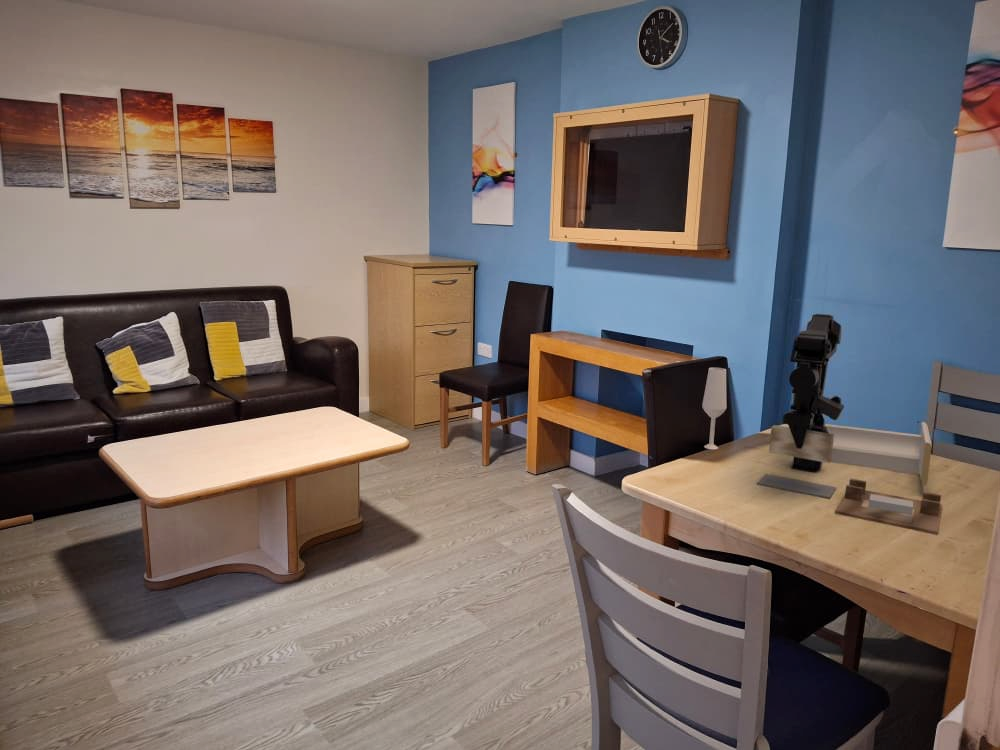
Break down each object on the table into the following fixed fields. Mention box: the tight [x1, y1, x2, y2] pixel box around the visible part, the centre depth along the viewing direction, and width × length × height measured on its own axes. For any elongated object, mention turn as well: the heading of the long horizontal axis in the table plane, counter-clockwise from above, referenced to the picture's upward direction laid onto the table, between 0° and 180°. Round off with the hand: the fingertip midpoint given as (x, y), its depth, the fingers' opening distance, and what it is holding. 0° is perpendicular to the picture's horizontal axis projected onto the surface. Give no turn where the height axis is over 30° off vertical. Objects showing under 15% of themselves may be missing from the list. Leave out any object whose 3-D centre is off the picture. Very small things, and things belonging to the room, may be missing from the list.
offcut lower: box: [860, 500, 914, 524], centre depth 160 cm, size 10×5×2 cm, turn 56°
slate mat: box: [756, 473, 837, 500], centre depth 180 cm, size 17×9×1 cm, turn 56°
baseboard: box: [917, 421, 933, 487], centre depth 188 cm, size 31×3×12 cm, turn 151°
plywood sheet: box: [768, 424, 834, 464], centre depth 178 cm, size 14×3×6 cm, turn 56°
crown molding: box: [825, 423, 921, 475], centre depth 198 cm, size 31×12×4 cm
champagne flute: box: [701, 367, 727, 450], centre depth 208 cm, size 7×7×24 cm
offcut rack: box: [834, 478, 943, 535], centre depth 165 cm, size 20×20×4 cm
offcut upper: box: [869, 494, 913, 515], centre depth 159 cm, size 8×4×2 cm, turn 60°
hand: (800, 446), depth 178 cm, fingers closed on plywood sheet, 3 cm apart
